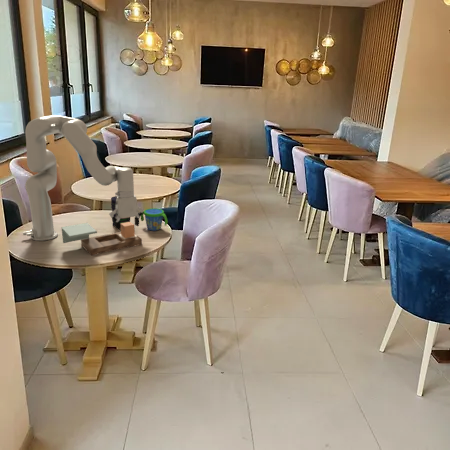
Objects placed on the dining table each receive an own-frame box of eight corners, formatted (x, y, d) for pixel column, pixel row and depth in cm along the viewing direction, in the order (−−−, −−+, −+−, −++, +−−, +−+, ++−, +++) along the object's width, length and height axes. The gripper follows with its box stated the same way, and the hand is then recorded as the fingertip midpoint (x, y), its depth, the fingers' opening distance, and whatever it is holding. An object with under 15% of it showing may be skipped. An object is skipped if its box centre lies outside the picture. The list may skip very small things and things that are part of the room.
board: (91, 255, 188) (90, 248, 187) (81, 245, 198) (80, 239, 197) (141, 244, 202) (141, 238, 201) (130, 235, 212) (129, 229, 211)
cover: (71, 251, 182) (69, 236, 180) (63, 242, 192) (61, 227, 189) (98, 246, 189) (96, 231, 186) (88, 237, 199) (87, 222, 196)
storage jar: (108, 225, 225) (107, 199, 220) (118, 220, 234) (116, 194, 229) (125, 228, 222) (123, 201, 217) (133, 222, 231) (132, 196, 226)
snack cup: (171, 229, 223) (171, 211, 220) (159, 234, 215) (159, 216, 211) (149, 223, 230) (148, 206, 227) (136, 228, 222) (135, 210, 218)
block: (125, 238, 200) (124, 226, 198) (121, 234, 204) (120, 223, 202) (134, 236, 203) (134, 224, 201) (130, 232, 207) (130, 221, 205)
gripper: (111, 198, 189) (113, 232, 194) (146, 193, 198) (147, 226, 204) (105, 194, 194) (107, 228, 200) (139, 189, 204) (140, 222, 210)
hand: (127, 227), depth 202 cm, fingers open, 9 cm apart
